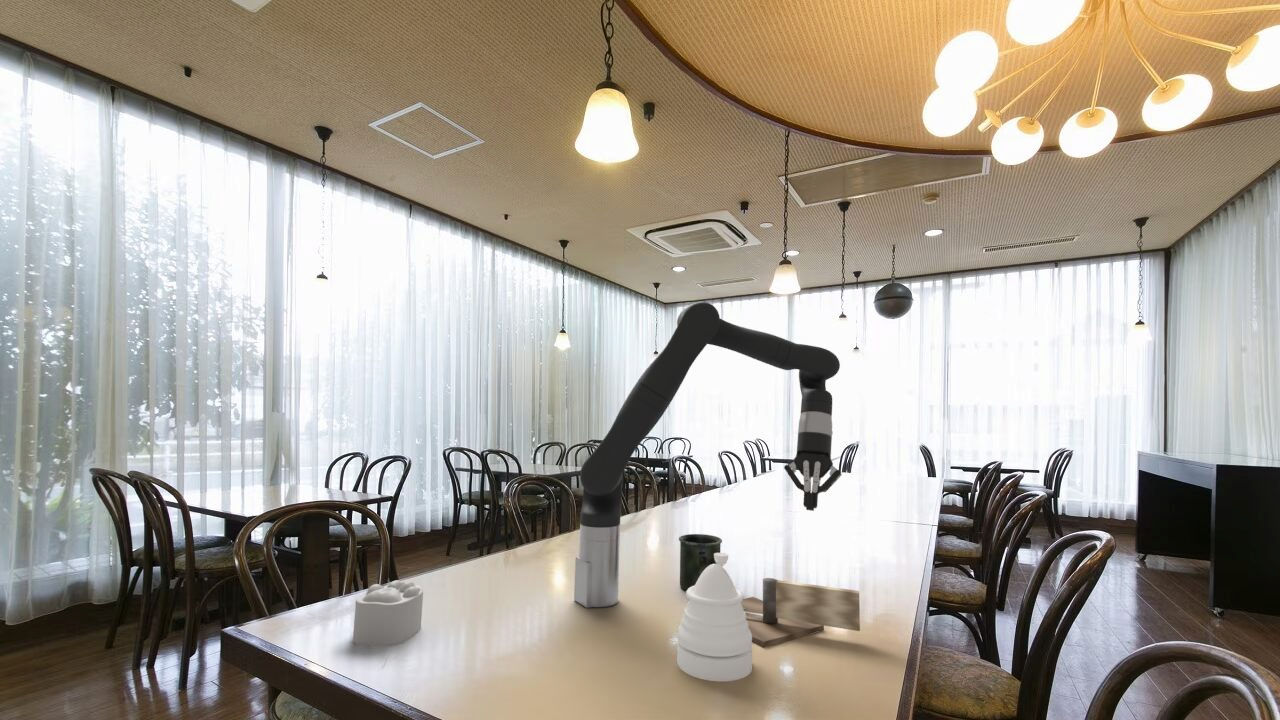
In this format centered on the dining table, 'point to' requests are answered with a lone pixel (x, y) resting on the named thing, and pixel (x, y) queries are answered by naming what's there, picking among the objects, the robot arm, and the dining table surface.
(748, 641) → the honey pot
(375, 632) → the lumpy-topped squat cylinder
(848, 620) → the plank on dark post
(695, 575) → the mug
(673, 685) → the dining table surface
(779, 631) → the wooden sign stand
